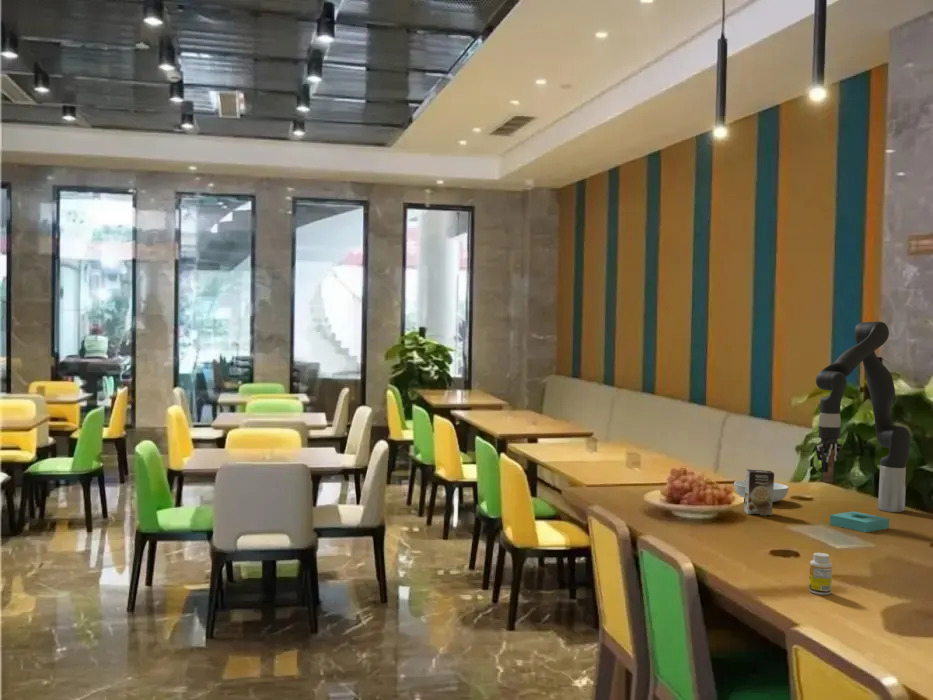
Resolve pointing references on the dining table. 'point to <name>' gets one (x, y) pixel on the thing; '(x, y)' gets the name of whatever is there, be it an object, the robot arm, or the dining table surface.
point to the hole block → (859, 521)
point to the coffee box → (759, 492)
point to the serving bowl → (778, 490)
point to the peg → (829, 468)
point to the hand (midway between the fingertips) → (828, 471)
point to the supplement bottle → (820, 574)
